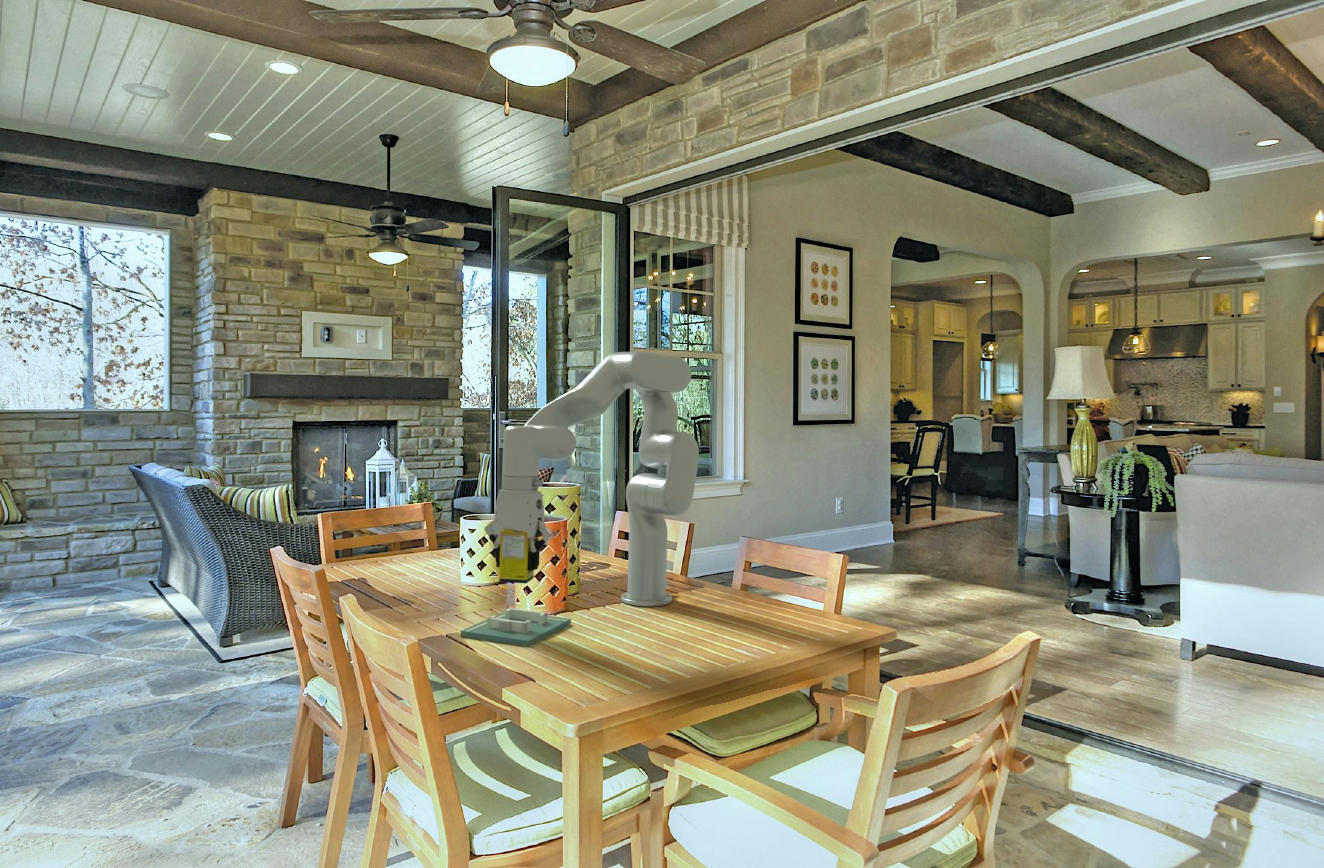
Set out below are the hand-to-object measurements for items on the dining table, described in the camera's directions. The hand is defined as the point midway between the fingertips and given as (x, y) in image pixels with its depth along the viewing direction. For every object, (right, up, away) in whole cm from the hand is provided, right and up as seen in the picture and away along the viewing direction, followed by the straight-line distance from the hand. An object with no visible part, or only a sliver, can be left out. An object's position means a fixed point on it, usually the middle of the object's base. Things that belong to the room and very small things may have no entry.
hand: (517, 567), depth 169 cm
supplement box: (0, -3, 0) cm, 3 cm away
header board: (0, -14, +1) cm, 14 cm away
